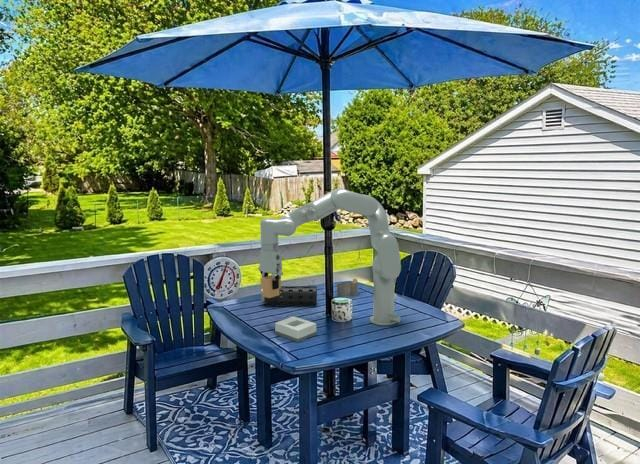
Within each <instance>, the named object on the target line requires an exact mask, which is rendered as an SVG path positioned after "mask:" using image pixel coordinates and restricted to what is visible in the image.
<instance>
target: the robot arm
mask: <svg viewBox="0 0 640 464" xmlns="http://www.w3.org/2000/svg"><path fill="white" fill-rule="evenodd" d="M338 210H342V211H345V212H348V213H353V214H357V215H361V216H363V217H365V218H366V219H367V223H368V228H369V235H370V244H371V247H372V248H373V249H374V250H375V251H376V252H377V255H375V256H374V258H373V259H372V263H371V264H372V266H371V267H372V276H373V277H372V279H373V287H372V288H373V291H372V292H373V293H372V294H373V297H372V298H373V299H372V307H373V309H372V315H371V316H370V317H369V322H370V323H371V324H373V325H377V326H378V325H379V326H392V325H396V324H397V323H400V322H401V319H402V318H401V316H399V315H397V312H396V311H395V290H396V289H395V284H396V283H395V282H396V281H395V279H397V278H398V277H399V276H400V273H401V271H402V264H401V263H402V262H401V254H400V247H399V242H398V241H397V239H396V237H395V236H394V235H393V234H392V233H390V227H389V221H388V216H387V213H386V210H385V208H384V207H383V205H382V204H381V203H380V202H379V201H378V200H377V199H376V198H374V197H373V196H370V195H367V194H363V193H362V194H361V193H358V192H355V191H354V192H353V191H350V190H347V189H345V188H342V187H338V188H335V189H333V190H331V191H329V192H327V193H325V194H323V195H322V196H320V197H318V198H317V199H314V200H312V201H311V202H308V203H306V204H304V205H302V206H299V207H298V208H296V209H294V210H292V211H290V212H288V213H286V214H284V215H282V216H281V217H280V218H279V219H276V218H272V217H267V218H262V219H261V220H260V225H259V226H260V254H259V266H258V268H257V269H258V271H259V272H260V274H261V277H265V276H269V275H272V277H273V281H272V285H273V290H274V289H278V288H279V279H280V277H281V278H282V276H283V275H284V271H283V261H282V255H281V250H280V249H279V248H280V247H279V246H280V245H279V236H284V237H290V236H293V235H294V234H295V233H296V231H297V228H298V227H301V226H302V225H304V224H307V223H309V222H316V221H320V220H321V219H324V218H326V217H327V216H329V215H330V214H332V213H335V212H337V211H338ZM275 275H276V277H275Z"/></svg>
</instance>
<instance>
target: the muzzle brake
mask: <svg viewBox="0 0 640 464" xmlns="http://www.w3.org/2000/svg"><path fill="white" fill-rule="evenodd" d="M317 287H318V286H317V285H285V286H284V285H281V288H279V294H280V295H278V296H275V297H271V298H267V297H264V296H262V289H261V288H260V290H261V291H260V298H261V299H260V300H261V303H262V304H265V305H273V306H275V305H280V306H282V305H292V306H295V305H297V306H316V305H317V303H318V302H317V301H318V289H317Z"/></svg>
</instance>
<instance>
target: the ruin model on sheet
mask: <svg viewBox="0 0 640 464" xmlns="http://www.w3.org/2000/svg"><path fill="white" fill-rule="evenodd" d="M336 296H337V297H338V298H339V297H358V296H359V282H358V278H353V279H352V281H348V282H346V281H345V282H343V281H342V282H340V283H338V282H336Z"/></svg>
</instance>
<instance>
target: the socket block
mask: <svg viewBox="0 0 640 464" xmlns="http://www.w3.org/2000/svg"><path fill="white" fill-rule="evenodd" d="M274 328H275V329H274V330H275V331H274V334H275V335H277V336H280V337H282V338H285V339H288V340H290V341H294V342H295V343H300V342H302V340H303V341H305V340H308V339H310V338H312V337H315V336H316V334H317V323H316V322H312V321H310V320H306V319H303V318H300V317H297V316H294V315H293V316H290V317H287V318H285V319H281V320H279V321H277V322H275V323H274ZM314 335H315V336H314ZM309 337H310V338H309ZM307 338H308V339H307Z"/></svg>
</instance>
